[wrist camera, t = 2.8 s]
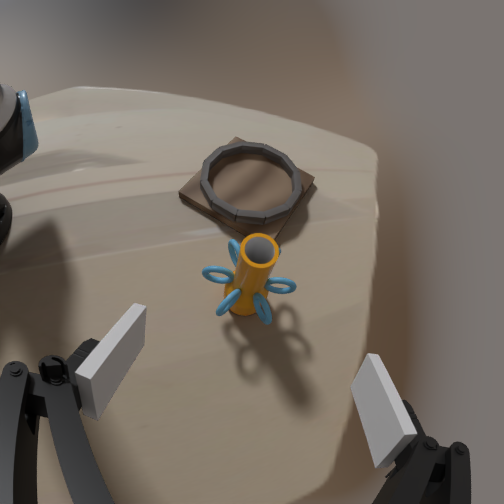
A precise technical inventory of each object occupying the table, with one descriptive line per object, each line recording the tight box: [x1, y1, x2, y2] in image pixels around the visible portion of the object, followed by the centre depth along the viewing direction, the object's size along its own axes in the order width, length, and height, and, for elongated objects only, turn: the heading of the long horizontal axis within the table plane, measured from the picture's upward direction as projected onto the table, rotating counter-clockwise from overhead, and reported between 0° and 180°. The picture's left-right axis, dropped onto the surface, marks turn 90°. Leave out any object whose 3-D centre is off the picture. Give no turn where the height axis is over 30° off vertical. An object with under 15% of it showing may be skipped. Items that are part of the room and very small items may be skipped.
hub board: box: [179, 137, 315, 240], centre depth 51 cm, size 18×18×4 cm
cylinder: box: [202, 233, 296, 325], centre depth 37 cm, size 12×10×15 cm
